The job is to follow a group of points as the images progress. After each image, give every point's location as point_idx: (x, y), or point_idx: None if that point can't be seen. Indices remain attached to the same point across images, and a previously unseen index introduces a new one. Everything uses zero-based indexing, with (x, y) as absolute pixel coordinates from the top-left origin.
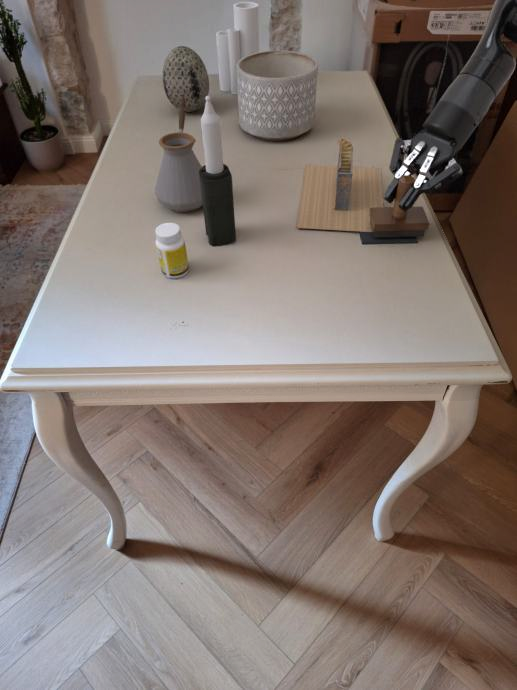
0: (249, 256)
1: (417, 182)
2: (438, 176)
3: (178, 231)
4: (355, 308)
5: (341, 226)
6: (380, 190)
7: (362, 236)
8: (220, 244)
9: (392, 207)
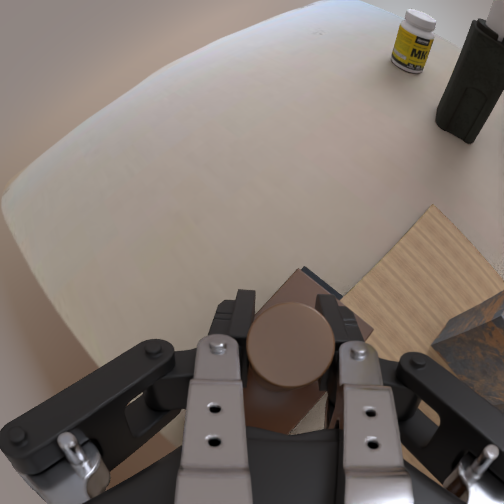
0: (395, 114)
1: (223, 350)
2: (109, 389)
3: (413, 14)
4: (181, 130)
5: (388, 277)
6: None
7: (323, 285)
8: (437, 110)
9: None
